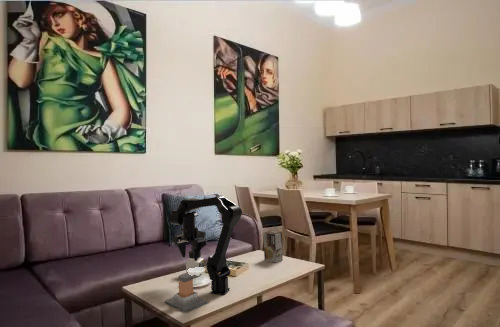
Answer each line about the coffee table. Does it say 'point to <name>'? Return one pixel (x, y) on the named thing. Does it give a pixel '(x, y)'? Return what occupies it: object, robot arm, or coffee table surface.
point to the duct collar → (186, 302)
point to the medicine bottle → (192, 263)
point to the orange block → (185, 285)
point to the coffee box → (273, 246)
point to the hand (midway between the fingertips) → (189, 259)
